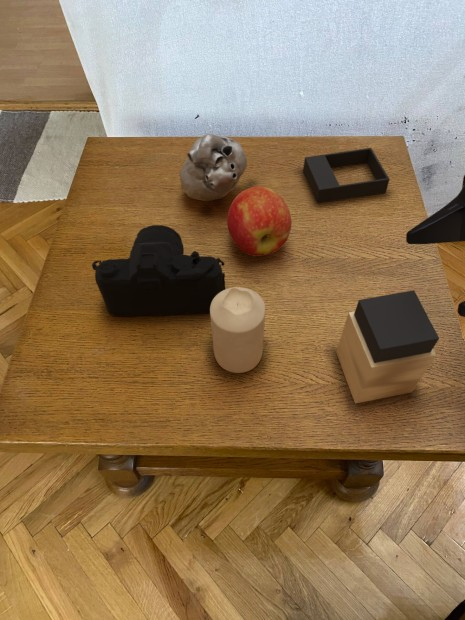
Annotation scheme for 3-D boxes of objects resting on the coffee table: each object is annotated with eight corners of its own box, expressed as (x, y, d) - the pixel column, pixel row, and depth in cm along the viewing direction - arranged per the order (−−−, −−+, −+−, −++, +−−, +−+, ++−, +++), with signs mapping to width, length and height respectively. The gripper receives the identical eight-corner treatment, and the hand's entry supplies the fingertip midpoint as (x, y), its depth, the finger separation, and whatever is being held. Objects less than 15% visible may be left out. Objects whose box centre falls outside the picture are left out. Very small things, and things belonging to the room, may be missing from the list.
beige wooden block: (389, 342, 56) (409, 301, 49) (412, 392, 52) (436, 355, 45) (335, 352, 55) (348, 312, 48) (355, 403, 51) (371, 367, 45)
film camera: (225, 256, 63) (223, 204, 56) (226, 317, 58) (223, 269, 50) (109, 259, 63) (92, 208, 56) (99, 320, 58) (78, 273, 51)
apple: (236, 271, 62) (235, 226, 55) (221, 225, 67) (219, 179, 60) (295, 259, 63) (302, 214, 56) (277, 215, 68) (281, 168, 61)
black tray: (367, 161, 74) (371, 147, 72) (385, 192, 70) (389, 179, 68) (302, 171, 73) (304, 157, 71) (317, 203, 69) (319, 189, 67)
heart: (265, 185, 71) (254, 107, 61) (238, 227, 66) (221, 149, 57) (205, 176, 75) (186, 102, 66) (175, 216, 70) (150, 141, 61)
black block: (406, 304, 49) (414, 289, 47) (430, 352, 46) (439, 338, 44) (353, 314, 48) (358, 299, 46) (374, 363, 45) (380, 349, 43)
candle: (220, 379, 53) (217, 329, 45) (208, 337, 56) (203, 284, 48) (268, 366, 54) (273, 316, 46) (254, 326, 57) (256, 272, 49)
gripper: (574, 72, 39) (384, 128, 40) (807, 185, 26) (515, 266, 26) (544, 191, 47) (386, 236, 48) (712, 326, 33) (487, 385, 34)
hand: (430, 271), depth 39 cm, fingers open, 9 cm apart
